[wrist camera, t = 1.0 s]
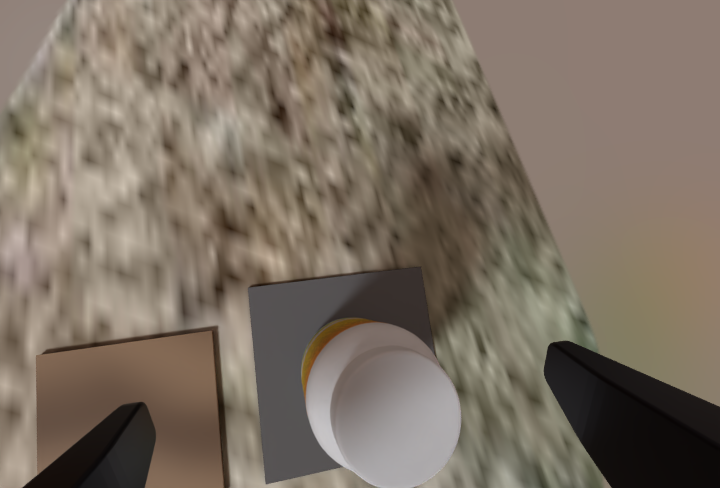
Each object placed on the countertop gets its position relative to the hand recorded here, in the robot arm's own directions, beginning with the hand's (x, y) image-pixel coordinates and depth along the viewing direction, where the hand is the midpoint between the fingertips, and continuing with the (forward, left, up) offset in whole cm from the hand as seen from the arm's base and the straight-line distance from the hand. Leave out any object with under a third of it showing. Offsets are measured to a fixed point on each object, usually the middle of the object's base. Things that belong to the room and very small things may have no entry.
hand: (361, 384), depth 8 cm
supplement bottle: (-2, -1, -13) cm, 13 cm away
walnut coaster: (-3, +10, -13) cm, 16 cm away
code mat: (-2, -1, -13) cm, 13 cm away
